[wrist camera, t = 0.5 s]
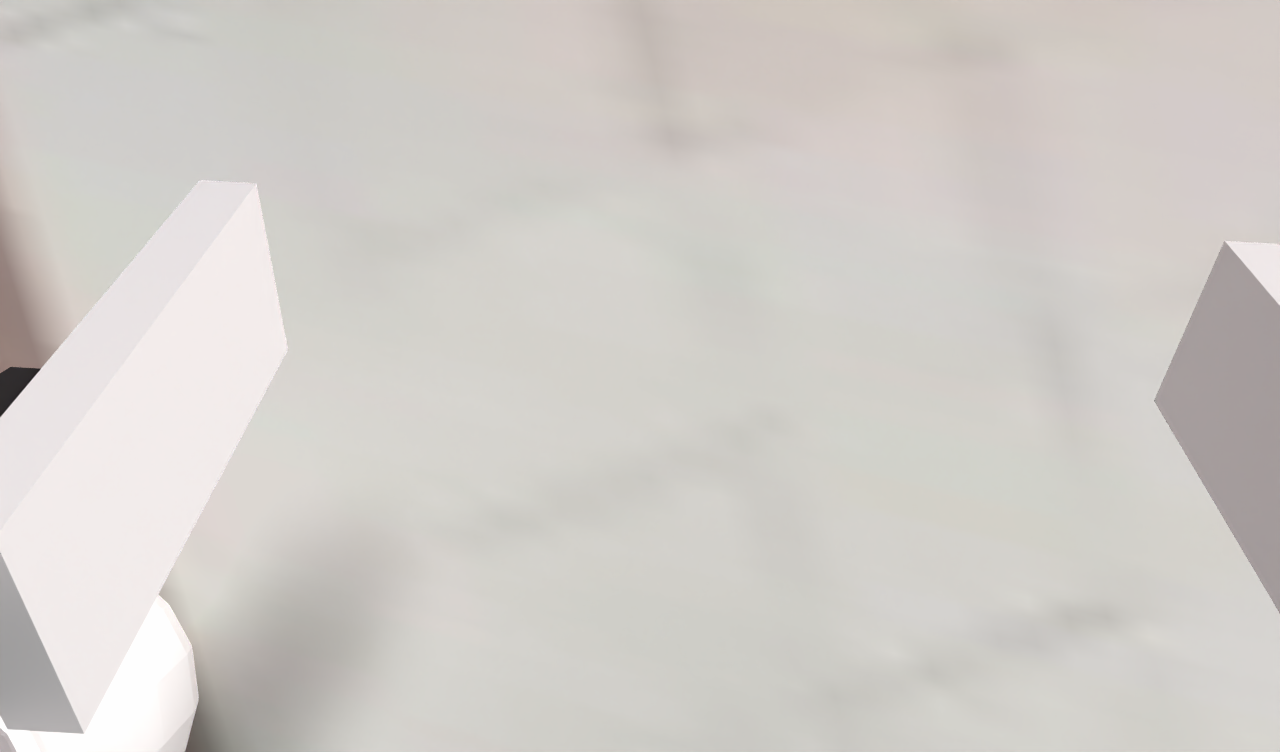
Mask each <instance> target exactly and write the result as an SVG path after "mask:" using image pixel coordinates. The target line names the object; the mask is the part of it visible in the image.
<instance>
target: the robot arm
mask: <svg viewBox="0 0 1280 752" xmlns="http://www.w3.org/2000/svg"><path fill="white" fill-rule="evenodd" d="M287 351H288V347H287V341H286V336H285V331H284V326H283V320H282V315H281V310H280V305H279V299H278V294H277V289H276V284H275V278H274V273H273V268H272V263H271V257H270V252H269V247H268V242H267V236H266V231H265V226H264V221H263V215H262V210H261V205H260V200H259V194H258V189H257V184H256V183H243V182H226V181H209V180H199V181H198V183H197V184H196V185H195V186H194V187H193V189H192V190H191V191H190V192H189V193H188V195H187V196H186V197H185V198H184V199H183V200H182V202H181V203H180V204H179V205H178V206H177V208H176V209H175V210H174V211H173V212H172V214H171V215H170V216H169V217H168V218H167V220H166V221H165V222H164V223H163V224H162V225H161V227H160V228H159V229H158V230H157V231H156V233H155V234H154V235H153V236H152V237H151V239H150V240H149V241H148V242H147V243H146V245H145V246H144V247H143V248H142V249H141V250H140V252H139V253H138V254H137V255H136V256H135V258H134V259H133V260H132V261H131V262H130V264H129V265H128V266H127V267H126V268H125V270H124V271H123V272H122V273H121V274H120V275H119V277H118V278H117V279H116V280H115V281H114V283H113V284H112V285H111V286H110V287H109V289H108V290H107V291H106V292H105V293H104V295H103V296H102V297H101V298H100V299H99V300H98V302H97V303H96V304H95V305H94V306H93V308H92V309H91V310H90V311H89V312H88V314H87V315H86V316H85V317H84V318H83V320H82V321H81V322H80V323H79V324H78V325H77V327H76V328H75V329H74V330H73V331H72V333H71V334H70V335H69V336H68V337H67V339H66V340H65V341H64V342H63V343H62V345H61V346H60V347H59V348H58V349H57V350H56V352H55V353H54V354H53V355H52V356H51V358H50V359H49V360H48V361H47V362H46V364H45V365H44V366H43V367H42V368H41V369H35V368H19V367H10V368H8V369H7V370H5V371H3V372H2V373H0V716H1V718H2V720H3V722H4V724H5V726H6V728H7V729H9V730H27V731H44V732H61V733H78V734H84V733H85V731H86V730H87V728H88V726H89V724H90V722H91V720H92V718H93V716H94V715H95V713H96V711H97V709H98V707H99V705H100V703H101V701H102V699H103V698H104V696H105V694H106V692H107V690H108V688H109V686H110V684H111V682H112V681H113V679H114V677H115V675H116V673H117V671H118V669H119V667H120V665H121V664H122V662H123V660H124V658H125V656H126V654H127V652H128V650H129V649H130V647H131V645H132V643H133V641H134V639H135V637H136V635H137V633H138V632H139V630H140V628H141V626H142V624H143V622H144V620H145V618H146V616H147V615H148V613H149V611H150V609H151V607H152V605H153V603H154V601H155V599H156V598H157V596H158V594H159V592H160V590H161V588H162V586H163V584H164V583H165V581H166V579H167V577H168V575H169V573H170V571H171V569H172V567H173V566H174V564H175V562H176V560H177V558H178V556H179V554H180V552H181V550H182V549H183V547H184V545H185V543H186V541H187V539H188V537H189V535H190V533H191V532H192V530H193V528H194V526H195V524H196V522H197V520H198V518H199V517H200V515H201V513H202V511H203V509H204V507H205V505H206V503H207V501H208V500H209V498H210V496H211V494H212V492H213V490H214V488H215V486H216V484H217V483H218V481H219V479H220V477H221V475H222V473H223V471H224V469H225V467H226V466H227V464H228V462H229V460H230V458H231V456H232V454H233V452H234V451H235V449H236V447H237V445H238V443H239V441H240V439H241V437H242V435H243V434H244V432H245V430H246V428H247V426H248V424H249V422H250V420H251V418H252V417H253V415H254V413H255V411H256V409H257V407H258V405H259V403H260V401H261V400H262V398H263V396H264V394H265V392H266V390H267V388H268V386H269V385H270V383H271V381H272V379H273V377H274V375H275V373H276V371H277V369H278V368H279V366H280V364H281V362H282V360H283V358H284V356H285V354H286V352H287ZM1154 401H1155V403H1156V405H1157V406H1158V408H1159V410H1160V411H1161V413H1162V415H1163V417H1164V418H1165V420H1166V422H1167V423H1168V425H1169V427H1170V428H1171V430H1172V432H1173V433H1174V435H1175V437H1176V439H1177V440H1178V442H1179V444H1180V445H1181V447H1182V449H1183V450H1184V452H1185V454H1186V455H1187V457H1188V459H1189V461H1190V462H1191V464H1192V466H1193V467H1194V469H1195V471H1196V472H1197V474H1198V476H1199V477H1200V479H1201V481H1202V482H1203V484H1204V486H1205V488H1206V489H1207V491H1208V493H1209V494H1210V496H1211V498H1212V499H1213V501H1214V503H1215V504H1216V506H1217V508H1218V510H1219V511H1220V513H1221V515H1222V516H1223V518H1224V520H1225V521H1226V523H1227V525H1228V526H1229V528H1230V530H1231V532H1232V533H1233V535H1234V537H1235V538H1236V540H1237V542H1238V543H1239V545H1240V547H1241V548H1242V550H1243V552H1244V554H1245V555H1246V557H1247V559H1248V560H1249V562H1250V564H1251V565H1252V567H1253V569H1254V570H1255V572H1256V574H1257V575H1258V577H1259V579H1260V581H1261V582H1262V584H1263V586H1264V587H1265V589H1266V591H1267V592H1268V594H1269V596H1270V597H1271V599H1272V601H1273V603H1274V604H1275V606H1276V608H1277V609H1278V611H1279V613H1280V244H1269V243H1252V242H1235V241H1224V243H1223V246H1222V248H1221V250H1220V252H1219V255H1218V257H1217V259H1216V262H1215V264H1214V266H1213V268H1212V271H1211V273H1210V275H1209V277H1208V280H1207V282H1206V284H1205V286H1204V289H1203V291H1202V293H1201V296H1200V298H1199V300H1198V302H1197V305H1196V307H1195V309H1194V311H1193V314H1192V316H1191V318H1190V321H1189V323H1188V325H1187V327H1186V330H1185V332H1184V334H1183V336H1182V339H1181V341H1180V343H1179V345H1178V348H1177V350H1176V352H1175V355H1174V357H1173V359H1172V361H1171V364H1170V366H1169V368H1168V370H1167V373H1166V375H1165V377H1164V379H1163V382H1162V384H1161V386H1160V389H1159V391H1158V393H1157V395H1156V398H1155V400H1154Z"/></svg>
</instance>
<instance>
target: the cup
mask: <svg viewBox="0 0 1280 752" xmlns="http://www.w3.org/2000/svg"><path fill="white" fill-rule="evenodd" d="M198 700H199V695H198V688H197V680H196V672H195V665H194V657H193V650H192V645H191V643H190V642H189V640H188V638H187V636H186V634H185V632H184V631H183V629H182V627H181V625H180V623H179V622H178V620H177V618H176V616H175V614H174V612H173V611H172V609H171V607H170V605H169V604H168V603H167V602H166V601H165V600H163V599H162V598H161V597H160V596H159V595H158V596H157V598H156V599H155V601H154V603H153V605H152V607H151V609H150V611H149V613H148V615H147V616H146V618H145V620H144V622H143V624H142V626H141V628H140V630H139V632H138V633H137V635H136V637H135V639H134V641H133V643H132V645H131V647H130V649H129V650H128V652H127V654H126V656H125V658H124V660H123V662H122V664H121V665H120V667H119V669H118V671H117V673H116V675H115V677H114V679H113V681H112V682H111V684H110V686H109V688H108V690H107V692H106V694H105V696H104V698H103V699H102V701H101V703H100V705H99V707H98V709H97V711H96V713H95V715H94V716H93V718H92V720H91V722H90V724H89V726H88V728H87V730H86V731H85V733H84V734H78V733H61V732H44V731H27V730H9V729H7V728H6V726H5V724H4V722H3V720H2V718H1V716H0V752H185V750H186V746H187V743H188V739H189V735H190V731H191V727H192V723H193V720H194V716H195V712H196V708H197V704H198Z"/></svg>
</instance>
